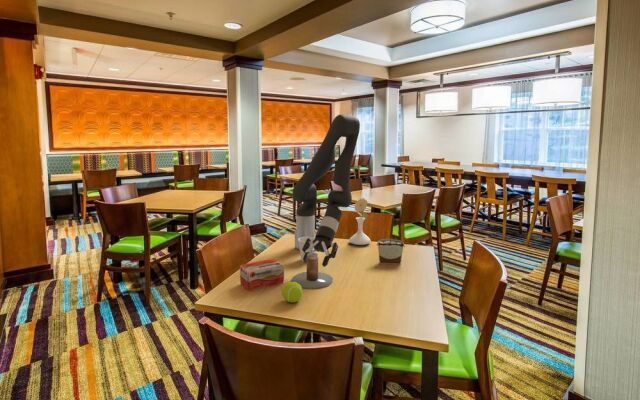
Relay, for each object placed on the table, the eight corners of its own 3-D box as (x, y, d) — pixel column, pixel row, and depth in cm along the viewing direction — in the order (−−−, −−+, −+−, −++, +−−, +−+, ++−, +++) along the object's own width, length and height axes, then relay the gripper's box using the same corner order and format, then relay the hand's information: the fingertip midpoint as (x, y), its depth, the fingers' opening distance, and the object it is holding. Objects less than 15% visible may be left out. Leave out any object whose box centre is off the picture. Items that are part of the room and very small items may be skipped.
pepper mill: (304, 279, 152) (304, 255, 151) (310, 275, 156) (310, 252, 155) (314, 281, 150) (314, 257, 148) (320, 277, 154) (320, 253, 153)
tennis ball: (279, 299, 136) (279, 280, 135) (298, 296, 139) (298, 277, 138) (286, 307, 130) (286, 287, 129) (305, 303, 133) (305, 284, 132)
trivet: (284, 283, 150) (284, 281, 150) (304, 271, 164) (304, 269, 164) (321, 291, 143) (321, 289, 143) (339, 277, 157) (339, 275, 157)
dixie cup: (314, 263, 173) (314, 242, 172) (296, 262, 175) (296, 240, 173) (318, 257, 181) (318, 237, 180) (300, 256, 183) (300, 236, 181)
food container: (402, 260, 179) (403, 239, 178) (403, 264, 173) (404, 242, 171) (375, 258, 180) (376, 238, 179) (376, 263, 174) (376, 241, 173)
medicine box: (248, 291, 143) (247, 271, 141) (239, 284, 149) (239, 264, 148) (284, 283, 151) (284, 263, 150) (275, 277, 158) (275, 258, 156)
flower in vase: (345, 241, 209) (346, 195, 204) (365, 239, 212) (366, 194, 208) (355, 248, 196) (356, 199, 192) (375, 246, 200) (377, 198, 195)
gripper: (309, 223, 163) (295, 256, 155) (340, 227, 156) (327, 262, 148) (315, 232, 169) (302, 265, 161) (345, 236, 162) (332, 271, 154)
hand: (314, 264), depth 155 cm, fingers open, 8 cm apart
